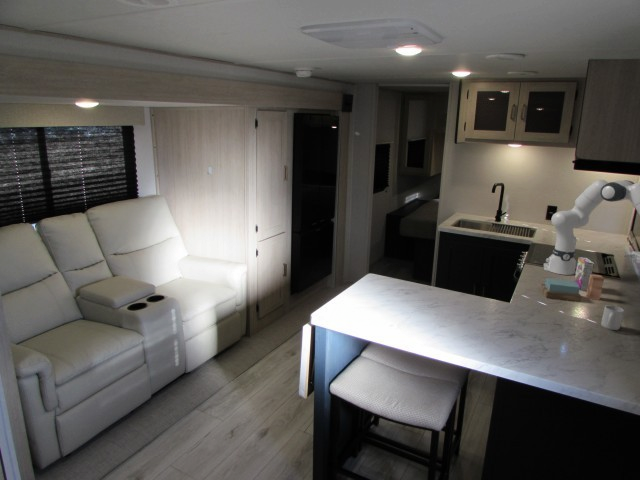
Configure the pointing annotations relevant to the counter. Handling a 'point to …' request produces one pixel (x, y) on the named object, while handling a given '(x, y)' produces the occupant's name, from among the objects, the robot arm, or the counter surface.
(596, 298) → the terracotta block
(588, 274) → the candy bar box
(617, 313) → the cup
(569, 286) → the tower top
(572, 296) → the block
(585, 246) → the counter surface
